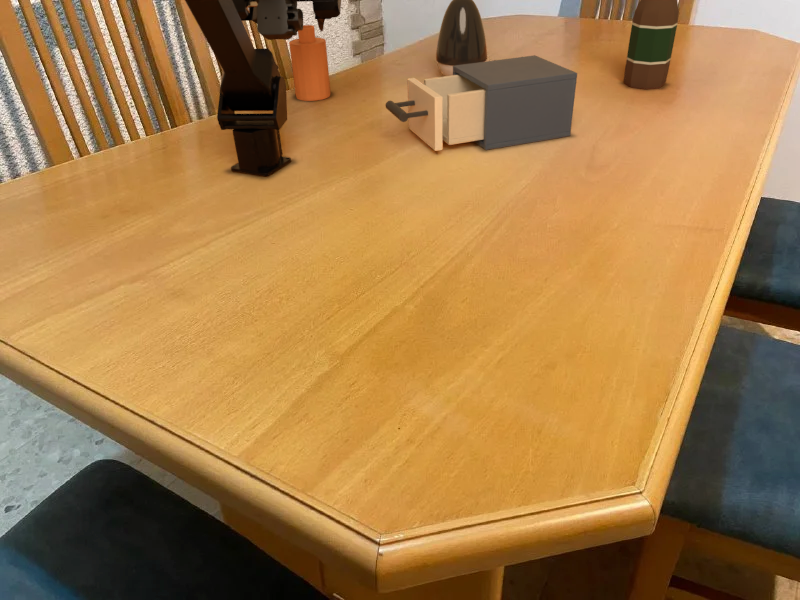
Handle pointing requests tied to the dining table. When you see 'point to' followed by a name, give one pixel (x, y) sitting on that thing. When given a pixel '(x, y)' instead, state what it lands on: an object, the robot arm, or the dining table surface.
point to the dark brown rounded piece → (460, 37)
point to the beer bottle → (651, 43)
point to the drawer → (443, 110)
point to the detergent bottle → (310, 65)
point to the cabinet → (523, 99)
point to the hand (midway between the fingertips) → (295, 29)
